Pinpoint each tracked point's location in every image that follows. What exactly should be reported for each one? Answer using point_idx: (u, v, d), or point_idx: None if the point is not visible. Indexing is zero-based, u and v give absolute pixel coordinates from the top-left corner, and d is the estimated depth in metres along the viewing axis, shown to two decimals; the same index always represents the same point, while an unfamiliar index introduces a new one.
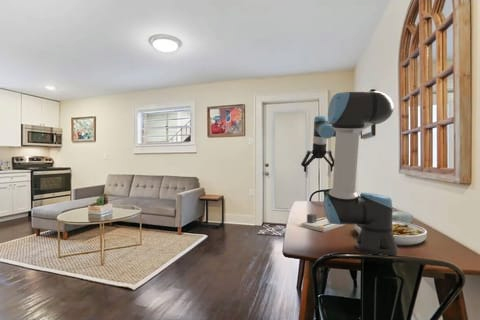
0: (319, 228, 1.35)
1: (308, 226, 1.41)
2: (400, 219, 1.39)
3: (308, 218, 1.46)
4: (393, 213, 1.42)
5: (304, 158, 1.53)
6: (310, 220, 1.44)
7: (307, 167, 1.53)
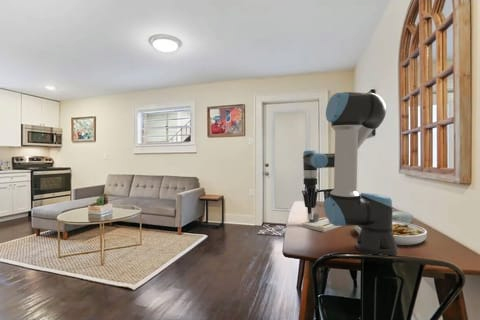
0: (319, 228, 1.35)
1: (308, 226, 1.41)
2: (400, 219, 1.39)
3: None
4: (393, 213, 1.42)
5: (304, 199, 1.43)
6: (312, 220, 1.46)
7: (312, 208, 1.44)
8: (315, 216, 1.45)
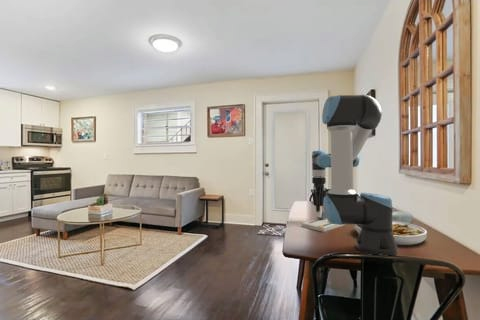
0: (319, 228, 1.35)
1: (308, 226, 1.41)
2: (400, 219, 1.39)
3: None
4: (393, 213, 1.42)
5: (313, 198, 1.48)
6: (320, 217, 1.51)
7: (320, 206, 1.50)
8: (323, 214, 1.51)
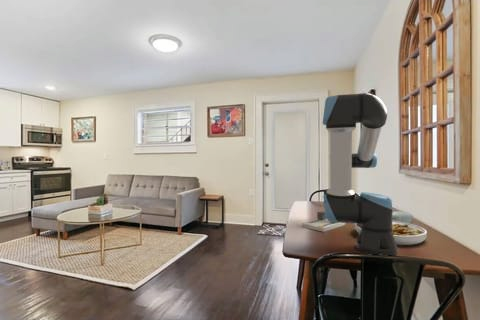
0: (319, 228, 1.35)
1: (308, 226, 1.41)
2: (400, 219, 1.39)
3: (318, 215, 1.52)
4: (393, 213, 1.42)
5: None
6: (320, 217, 1.51)
7: None
8: (323, 214, 1.51)
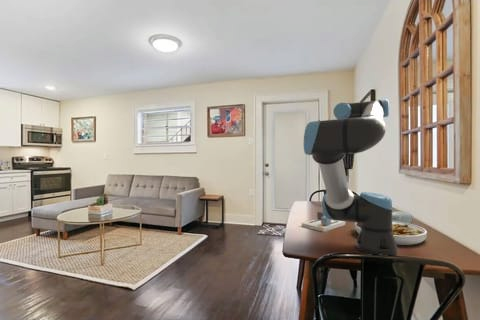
0: (319, 228, 1.35)
1: (308, 226, 1.41)
2: (400, 219, 1.39)
3: (318, 215, 1.52)
4: (393, 213, 1.42)
5: None
6: (320, 217, 1.51)
7: (349, 169, 1.26)
8: (323, 214, 1.51)
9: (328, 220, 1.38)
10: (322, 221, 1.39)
